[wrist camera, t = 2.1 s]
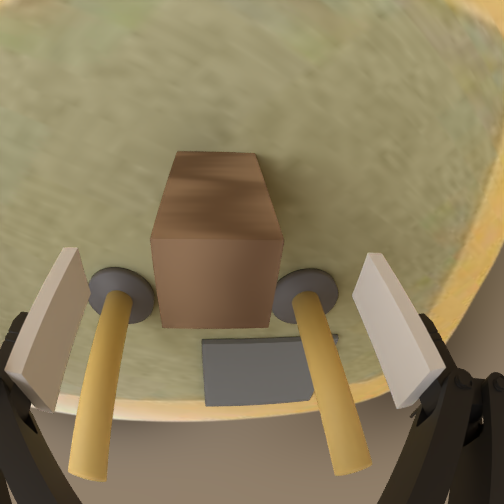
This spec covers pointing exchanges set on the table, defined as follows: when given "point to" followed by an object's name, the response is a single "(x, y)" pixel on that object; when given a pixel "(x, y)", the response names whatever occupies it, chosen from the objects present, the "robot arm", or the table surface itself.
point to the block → (216, 243)
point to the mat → (256, 371)
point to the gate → (284, 308)
